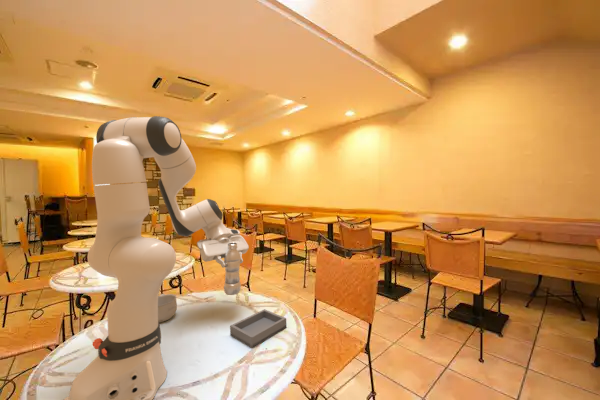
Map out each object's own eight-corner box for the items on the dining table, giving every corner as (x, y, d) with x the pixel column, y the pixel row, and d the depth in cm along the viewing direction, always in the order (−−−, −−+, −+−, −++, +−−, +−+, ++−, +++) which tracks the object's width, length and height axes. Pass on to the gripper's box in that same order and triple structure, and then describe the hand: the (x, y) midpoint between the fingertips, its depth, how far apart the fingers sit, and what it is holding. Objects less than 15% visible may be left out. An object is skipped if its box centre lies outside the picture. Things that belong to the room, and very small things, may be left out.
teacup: (174, 323, 99) (173, 302, 99) (142, 327, 96) (141, 306, 96) (180, 307, 113) (180, 289, 112) (153, 311, 110) (152, 293, 110)
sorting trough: (252, 348, 82) (251, 337, 82) (230, 335, 89) (230, 325, 89) (286, 327, 94) (286, 318, 94) (264, 317, 102) (264, 309, 101)
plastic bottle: (243, 290, 104) (243, 242, 103) (237, 297, 97) (237, 245, 97) (227, 290, 105) (227, 241, 104) (221, 296, 98) (221, 245, 97)
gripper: (198, 235, 97) (212, 265, 91) (242, 229, 113) (256, 254, 106) (192, 246, 100) (206, 275, 94) (236, 239, 116) (250, 263, 109)
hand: (233, 264), depth 100 cm, fingers closed on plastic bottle, 6 cm apart
